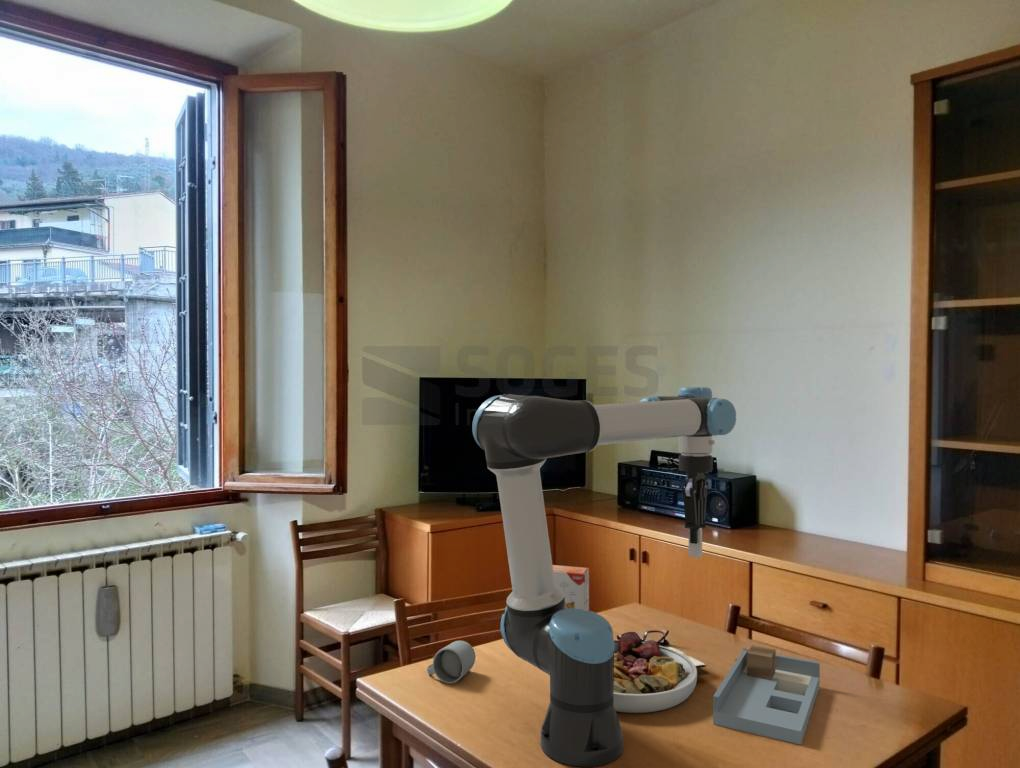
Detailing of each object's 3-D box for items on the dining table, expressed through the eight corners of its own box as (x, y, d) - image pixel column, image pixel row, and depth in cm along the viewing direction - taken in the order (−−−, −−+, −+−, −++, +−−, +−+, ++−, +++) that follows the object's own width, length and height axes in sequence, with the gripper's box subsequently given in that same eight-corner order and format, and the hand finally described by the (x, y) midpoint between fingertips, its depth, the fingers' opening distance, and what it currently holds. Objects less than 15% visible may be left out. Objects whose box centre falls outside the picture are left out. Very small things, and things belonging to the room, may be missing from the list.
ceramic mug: (477, 671, 165) (477, 638, 165) (463, 686, 157) (462, 651, 157) (436, 666, 169) (435, 633, 169) (420, 680, 161) (419, 645, 161)
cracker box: (528, 653, 176) (528, 568, 175) (534, 644, 181) (534, 562, 181) (584, 660, 172) (584, 572, 171) (589, 650, 177) (589, 566, 177)
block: (771, 680, 154) (771, 657, 154) (747, 675, 157) (747, 652, 157) (775, 672, 158) (775, 649, 158) (752, 667, 161) (752, 645, 161)
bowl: (700, 727, 140) (700, 686, 139) (547, 712, 146) (547, 673, 146) (694, 666, 169) (694, 632, 169) (567, 655, 175) (567, 623, 175)
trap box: (800, 745, 132) (801, 715, 132) (713, 724, 140) (713, 696, 140) (819, 687, 156) (819, 662, 156) (743, 672, 164) (743, 648, 164)
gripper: (703, 457, 157) (703, 565, 158) (719, 452, 169) (719, 552, 169) (670, 455, 161) (670, 560, 162) (688, 450, 172) (687, 548, 173)
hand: (695, 556), depth 165 cm, fingers closed
